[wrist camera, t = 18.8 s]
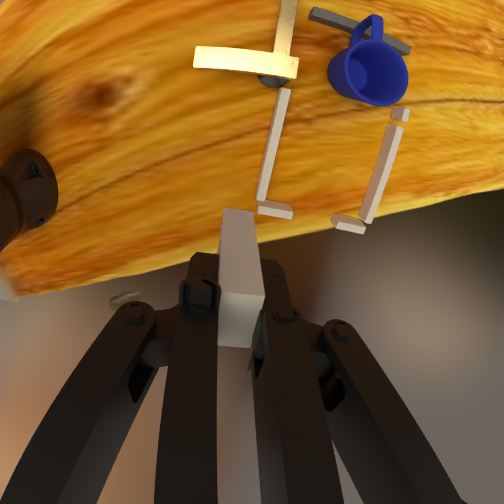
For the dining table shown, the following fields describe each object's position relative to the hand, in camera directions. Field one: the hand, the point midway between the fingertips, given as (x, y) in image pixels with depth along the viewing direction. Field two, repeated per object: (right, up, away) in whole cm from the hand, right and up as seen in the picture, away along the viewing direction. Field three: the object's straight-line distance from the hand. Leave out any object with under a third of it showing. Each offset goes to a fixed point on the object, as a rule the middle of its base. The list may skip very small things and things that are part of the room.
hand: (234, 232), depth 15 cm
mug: (+15, +26, +16) cm, 33 cm away
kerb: (+16, +30, +13) cm, 36 cm away
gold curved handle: (+1, +31, +11) cm, 33 cm away
